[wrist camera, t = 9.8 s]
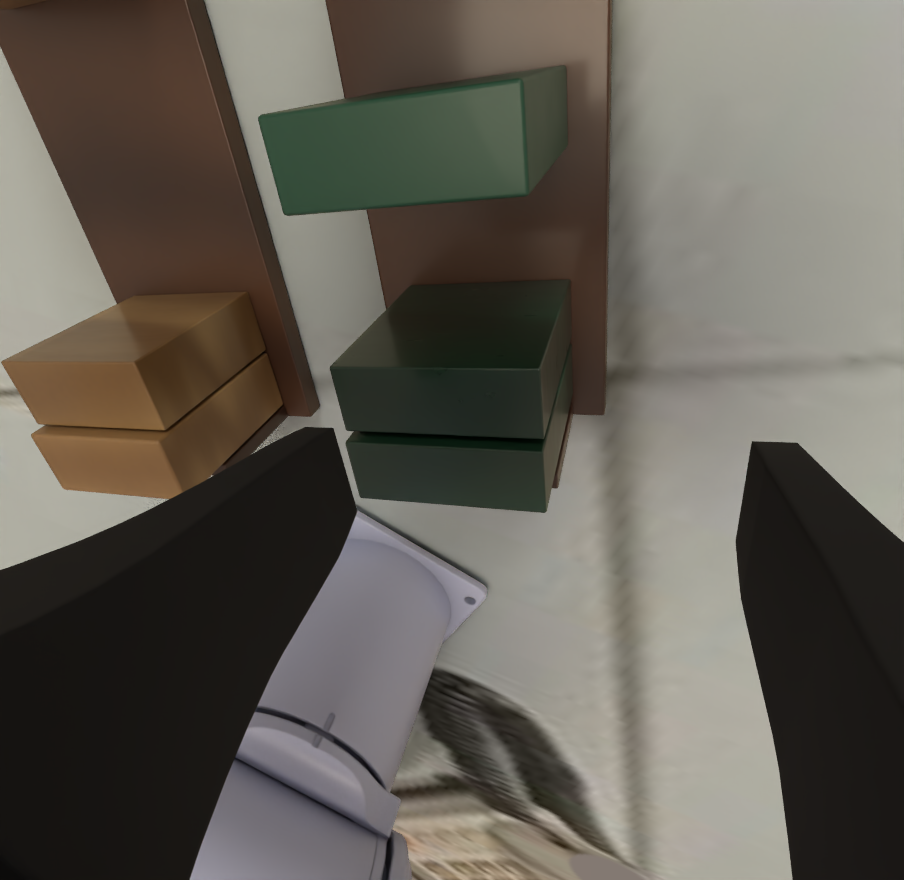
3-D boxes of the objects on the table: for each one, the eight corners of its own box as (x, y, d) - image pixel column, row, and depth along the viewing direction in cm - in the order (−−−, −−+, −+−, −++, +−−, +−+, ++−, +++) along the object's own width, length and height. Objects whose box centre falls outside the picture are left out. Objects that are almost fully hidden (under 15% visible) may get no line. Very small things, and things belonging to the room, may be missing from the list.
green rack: (606, 404, 20) (588, 542, 14) (412, 399, 22) (333, 518, 16) (617, -312, 11) (586, -641, 6) (298, -207, 13) (55, -377, 8)
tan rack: (320, 406, 23) (219, 518, 18) (177, 402, 25) (48, 501, 20) (155, -169, 14) (-143, -295, 9) (-43, -103, 16) (-382, -172, 11)
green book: (568, 146, 15) (529, 197, 10) (389, 165, 16) (282, 216, 12) (566, 65, 14) (523, 77, 9) (377, 92, 15) (254, 115, 11)
